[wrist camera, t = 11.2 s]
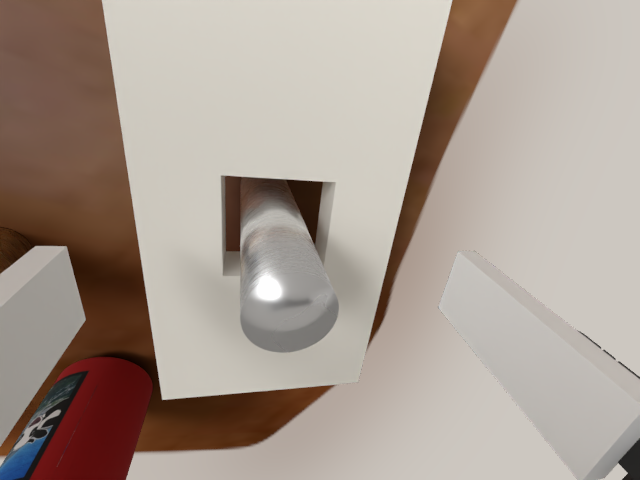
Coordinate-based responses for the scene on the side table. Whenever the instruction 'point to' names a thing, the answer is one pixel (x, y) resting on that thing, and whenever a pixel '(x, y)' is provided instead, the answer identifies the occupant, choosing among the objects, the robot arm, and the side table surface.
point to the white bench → (266, 162)
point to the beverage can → (84, 424)
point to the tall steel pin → (280, 272)
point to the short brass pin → (11, 247)
